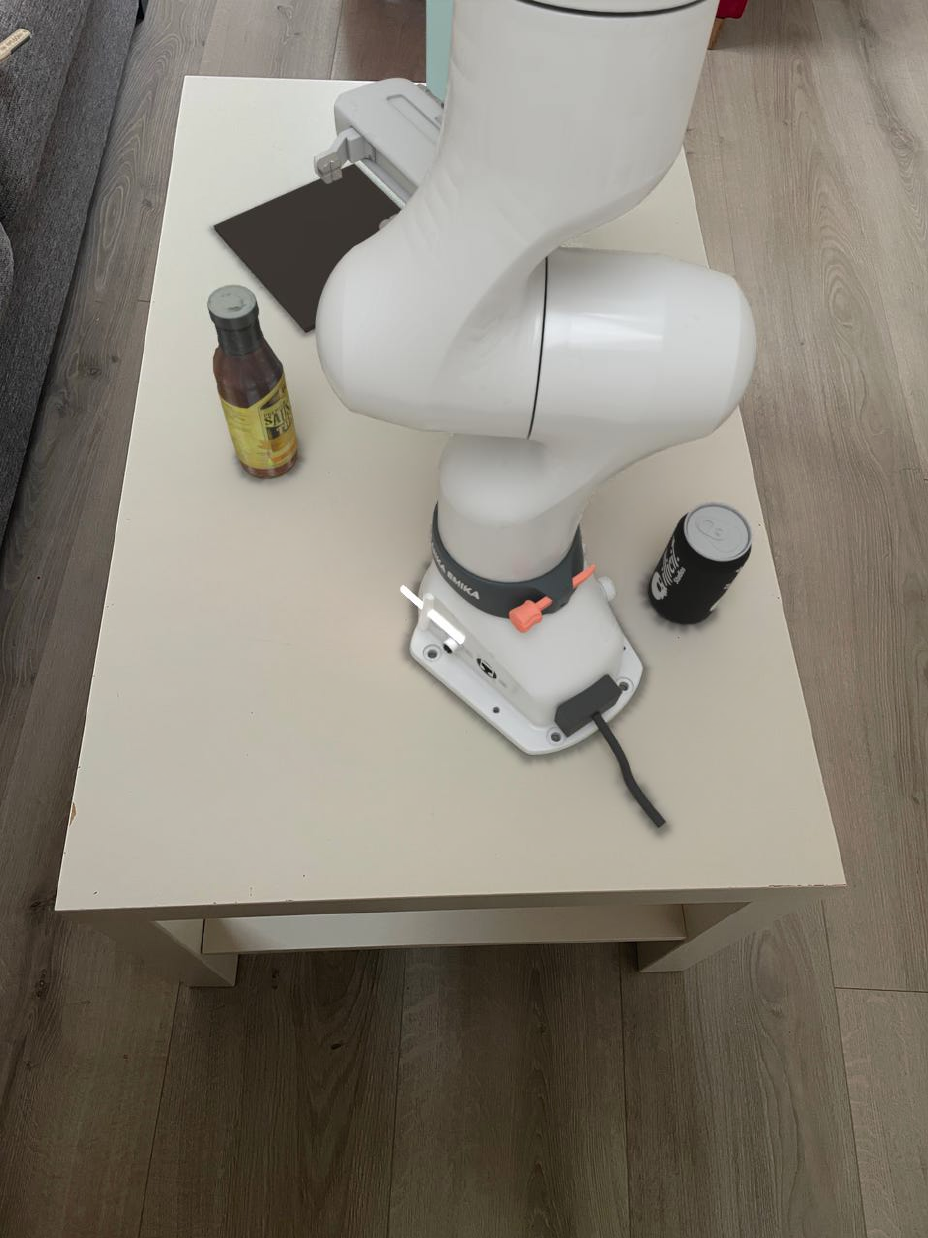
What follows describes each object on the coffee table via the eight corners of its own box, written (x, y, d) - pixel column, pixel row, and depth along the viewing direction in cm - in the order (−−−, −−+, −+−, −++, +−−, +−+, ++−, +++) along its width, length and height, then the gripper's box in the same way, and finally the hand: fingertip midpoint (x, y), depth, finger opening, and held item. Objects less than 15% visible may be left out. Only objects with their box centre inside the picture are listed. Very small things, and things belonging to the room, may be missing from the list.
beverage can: (692, 640, 80) (733, 578, 69) (633, 601, 81) (664, 535, 71) (726, 592, 82) (771, 524, 72) (668, 555, 84) (704, 484, 73)
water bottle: (411, 130, 111) (407, -100, 89) (480, 112, 113) (494, -117, 91) (442, 177, 107) (447, -51, 85) (513, 158, 109) (536, -69, 87)
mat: (449, 260, 101) (449, 256, 100) (305, 332, 95) (305, 328, 94) (354, 167, 107) (354, 162, 107) (214, 229, 101) (213, 225, 101)
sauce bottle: (289, 486, 86) (254, 340, 68) (229, 474, 86) (179, 326, 68) (308, 435, 89) (279, 283, 71) (250, 424, 89) (206, 270, 71)
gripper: (412, 40, 74) (276, 97, 70) (565, 171, 67) (423, 242, 63) (413, 111, 80) (287, 167, 76) (554, 238, 73) (424, 307, 69)
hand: (350, 203), depth 69 cm, fingers open, 8 cm apart
